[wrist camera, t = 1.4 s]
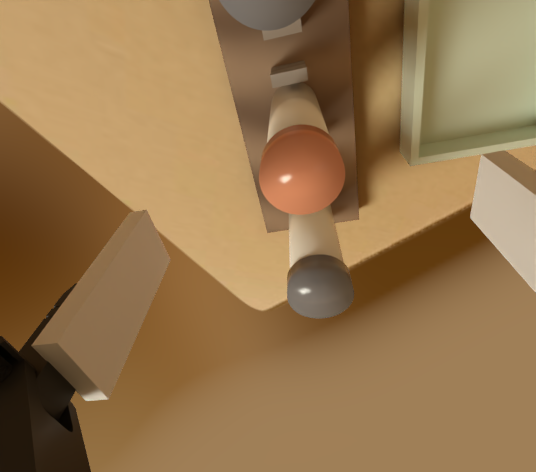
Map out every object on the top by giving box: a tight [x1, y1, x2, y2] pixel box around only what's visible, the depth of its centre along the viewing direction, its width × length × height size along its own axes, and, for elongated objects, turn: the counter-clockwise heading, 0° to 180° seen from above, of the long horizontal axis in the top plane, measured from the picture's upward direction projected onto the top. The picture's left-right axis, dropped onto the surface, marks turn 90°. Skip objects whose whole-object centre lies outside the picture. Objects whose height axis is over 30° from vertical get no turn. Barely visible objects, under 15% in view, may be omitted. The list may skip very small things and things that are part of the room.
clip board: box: [209, 0, 359, 233], centre depth 25 cm, size 23×9×4 cm, turn 12°
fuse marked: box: [259, 82, 345, 215], centre depth 20 cm, size 4×4×13 cm
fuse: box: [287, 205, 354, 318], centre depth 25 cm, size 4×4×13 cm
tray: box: [400, 0, 536, 166], centre depth 23 cm, size 14×11×3 cm
